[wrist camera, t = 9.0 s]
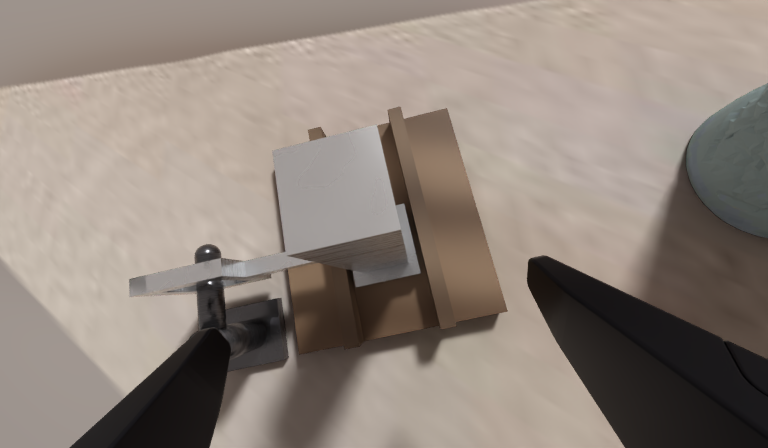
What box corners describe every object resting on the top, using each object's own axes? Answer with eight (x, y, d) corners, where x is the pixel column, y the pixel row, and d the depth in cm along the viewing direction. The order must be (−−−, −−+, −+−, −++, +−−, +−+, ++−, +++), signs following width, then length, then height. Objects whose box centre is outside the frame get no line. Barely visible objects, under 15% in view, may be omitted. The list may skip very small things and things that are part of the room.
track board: (501, 309, 17) (516, 313, 14) (306, 349, 17) (288, 361, 15) (444, 118, 20) (449, 94, 17) (280, 159, 20) (261, 141, 18)
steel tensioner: (420, 273, 16) (431, 256, 6) (206, 320, 17) (-113, 376, 7) (404, 208, 17) (391, 93, 7) (202, 254, 18) (-85, 215, 8)
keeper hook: (288, 357, 17) (242, 384, 13) (233, 368, 18) (167, 399, 13) (275, 246, 19) (229, 234, 14) (224, 258, 19) (163, 250, 14)
